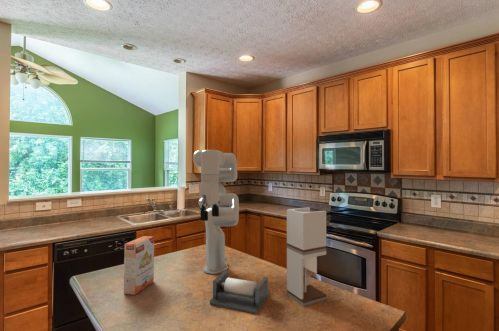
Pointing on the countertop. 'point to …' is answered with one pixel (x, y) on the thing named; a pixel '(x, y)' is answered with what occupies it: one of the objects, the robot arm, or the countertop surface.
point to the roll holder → (236, 300)
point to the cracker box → (138, 264)
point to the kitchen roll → (240, 287)
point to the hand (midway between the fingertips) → (210, 218)
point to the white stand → (304, 253)
